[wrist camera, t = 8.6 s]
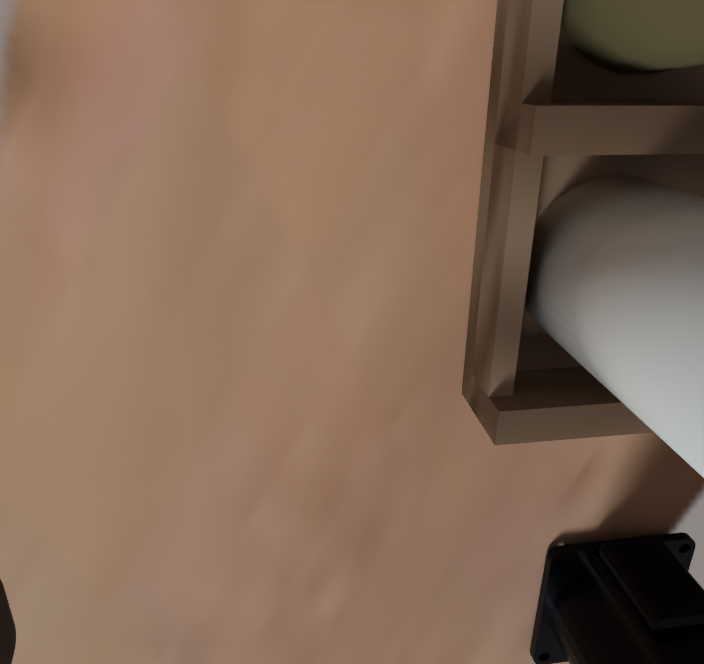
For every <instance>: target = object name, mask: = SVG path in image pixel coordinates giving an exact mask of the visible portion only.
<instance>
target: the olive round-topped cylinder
mask: <svg viewBox="0 0 704 664" xmlns="http://www.w3.org/2000/svg"><path fill="white" fill-rule="evenodd" d="M561 26H562V27H563V29H564V31H565V33H566V35H567V37H568V39H569V41H570V43H571V44H572V45H573V46H574V47H575V48H576V49H578V50H579V51H580V52H581V53H582V54H583V55H584V56H585V57H586V58H587V59H588V60H590V61H591V62H592V63H593V64H594V65H597V66H600V67H602V68H605V69H608V70H610V71H613V72H616V73H619V74H621V75H628V74H654V73H659V72H665V71H670V70H676V69H681V68H686V67H692V66H697V65H703V64H704V0H564V3H563V10H562V18H561Z"/></svg>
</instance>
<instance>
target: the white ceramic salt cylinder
mask: <svg viewBox="0 0 704 664" xmlns="http://www.w3.org/2000/svg"><path fill="white" fill-rule="evenodd" d="M524 306H525V308H526V310H527V312H528V313H529V315H530V316H531V318H532V319H533V320H534V321H535V322H536V323H537V324H538V325H539V326H540V327H541V328H542V329H543V330H544V331H545V332H546V333H547V334H548V335H550V336H551V337H552V338H553V339H554V340H555V341H556V342H557V343H558V344H559V345H560V346H561V347H563V348H564V349H565V350H566V351H567V352H568V353H569V354H570V355H571V356H572V357H573V358H574V359H576V360H577V361H578V362H579V363H580V364H581V365H582V366H583V367H584V368H585V369H586V370H587V371H589V372H590V373H591V374H592V375H593V376H594V377H595V378H596V379H597V380H598V381H599V382H600V383H602V384H603V385H604V386H605V387H606V388H607V389H608V390H609V391H610V392H611V393H612V394H613V395H614V396H616V397H617V398H618V399H619V400H620V401H621V402H622V403H623V404H624V405H625V406H626V407H627V408H629V409H630V410H631V411H632V412H633V413H634V414H635V415H636V416H637V417H638V418H639V419H640V420H642V421H643V422H644V423H645V424H646V425H647V426H648V427H649V428H650V429H651V430H652V431H653V432H655V433H656V434H657V435H658V436H659V437H660V438H661V439H662V440H663V441H664V442H665V443H666V444H668V445H669V446H670V447H671V448H672V449H673V450H674V451H675V452H676V453H677V454H678V455H679V456H680V457H682V458H683V459H684V460H685V461H686V462H687V463H688V464H689V465H690V466H691V467H692V468H693V469H695V470H696V471H697V472H698V473H699V474H700V475H701V476H702V477H703V478H704V198H703V197H700V196H696V195H693V194H690V193H687V192H684V191H680V190H677V189H674V188H671V187H668V186H664V185H661V184H658V183H655V182H652V181H648V180H645V179H642V178H639V177H634V176H630V175H605V176H601V177H597V178H593V179H590V180H587V181H585V182H582V183H580V184H578V185H576V186H574V187H572V188H571V189H569V190H568V191H566V192H565V193H563V194H562V195H561V196H559V197H558V198H557V199H556V200H555V201H553V202H552V203H551V204H550V205H549V206H548V207H547V208H546V209H545V211H544V212H543V213H542V214H541V215H540V217H539V218H538V219H537V221H536V222H535V227H534V235H533V242H532V250H531V258H530V266H529V273H528V281H527V289H526V297H525V304H524Z"/></svg>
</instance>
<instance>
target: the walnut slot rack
mask: <svg viewBox="0 0 704 664" xmlns="http://www.w3.org/2000/svg"><path fill="white" fill-rule="evenodd" d="M563 3H564V0H498V3H497V14H496V25H495V36H494V47H493V58H492V69H491V80H490V91H489V102H488V112H487V123H486V134H485V145H484V156H483V167H482V178H481V189H480V200H479V211H478V221H477V232H476V243H475V254H474V265H473V276H472V287H471V298H470V309H469V320H468V330H467V341H466V352H465V363H464V374H463V385H462V394H463V396H464V397H465V399H466V401H467V402H468V404H469V405H470V407H471V408H472V410H473V412H474V413H475V415H476V416H477V418H478V419H479V421H480V423H481V424H482V426H483V427H484V429H485V430H486V432H487V434H488V435H489V437H490V438H491V440H492V441H493V443H494V445H503V444H515V443H527V442H540V441H552V440H564V439H576V438H588V437H600V436H612V435H624V434H637V433H649V432H653V431H652V430H651V429H650V428H649V427H648V426H647V425H646V424H645V423H644V422H643V421H642V420H640V419H639V418H638V417H637V416H636V415H635V414H634V413H633V412H632V411H631V410H630V409H629V408H627V407H626V406H625V405H624V404H623V403H622V402H621V401H620V400H619V399H618V398H617V397H616V396H614V395H613V394H612V393H611V392H610V391H609V390H608V389H607V388H606V387H605V386H604V385H603V384H602V383H600V382H599V381H598V380H597V379H596V378H595V377H594V376H593V375H592V374H591V373H590V372H589V371H587V370H586V369H585V368H584V367H583V366H582V365H581V364H580V363H579V362H578V361H577V360H576V359H574V358H573V357H572V356H571V355H570V354H569V353H568V352H567V351H566V350H565V349H564V348H563V347H561V346H560V345H559V344H558V343H557V342H556V341H555V340H554V339H553V338H552V337H551V336H550V335H548V334H547V333H546V332H545V331H544V330H543V329H542V328H541V327H540V326H539V325H538V324H537V323H536V322H535V321H534V320H533V319H532V318H531V316H530V315H529V313H528V312H527V310H526V308H525V306H524V304H525V297H526V289H527V281H528V273H529V266H530V258H531V250H532V242H533V235H534V227H535V222H536V221H537V219H538V218H539V217H540V215H541V214H542V213H543V212H544V211H545V209H546V208H547V207H548V206H549V205H550V204H551V203H552V202H553V201H555V200H556V199H557V198H558V197H559V196H561V195H562V194H563V193H565V192H566V191H568V190H569V189H571V188H572V187H574V186H576V185H578V184H580V183H582V182H585V181H587V180H590V179H593V178H597V177H601V176H605V175H630V176H634V177H639V178H642V179H645V180H648V181H652V182H655V183H658V184H661V185H664V186H668V187H671V188H674V189H677V190H680V191H684V192H687V193H690V194H693V195H696V196H700V197H703V198H704V64H703V65H697V66H692V67H686V68H681V69H676V70H670V71H665V72H659V73H654V74H628V75H621V74H619V73H616V72H613V71H610V70H608V69H605V68H602V67H600V66H597V65H594V64H593V63H592V62H591V61H590V60H588V59H587V58H586V57H585V56H584V55H583V54H582V53H581V52H580V51H579V50H578V49H576V48H575V47H574V46H573V45H572V44H571V43H570V41H569V39H568V37H567V35H566V33H565V31H564V29H563V27H562V26H561V18H562V10H563Z"/></svg>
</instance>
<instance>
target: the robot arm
mask: <svg viewBox="0 0 704 664" xmlns="http://www.w3.org/2000/svg"><path fill="white" fill-rule="evenodd" d="M694 550H695V542H694V541H693V540H692V538H690V536H689V535H688V534H686V533H673V534H664V535H655V536H646V537H636V538H627V539H618V540H609V541H600V542H590V543H581V544H572V545H563V546H557V547H554V548H553V549H551V550H550V551H549V552H548V554H547V556H546V562H545V568H544V574H543V579H542V585H541V591H540V596H539V602H538V608H537V614H536V619H535V625H534V631H533V636H532V642H531V648H530V654H531V656H532V658H533V660H534V662H535V663H536V664H552V663H559V662H566V661H569V663H570V664H704V589H703V588H702V587H701V586H700V585H699V584H698V582H697V581H696V580H695V579H694V578H693V577H692V575H691V574H690V573H689V572H688V570H689V566H690V563H691V560H692V556H693V553H694ZM560 558H561V559H560ZM15 643H16V629H15V624H14V621H13V617H12V614H11V610H10V607H9V603H8V600H7V596H6V593H5V589H4V586H3V583H2V581H1V580H0V664H11V663H12V659H13V655H14V650H15Z"/></svg>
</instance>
